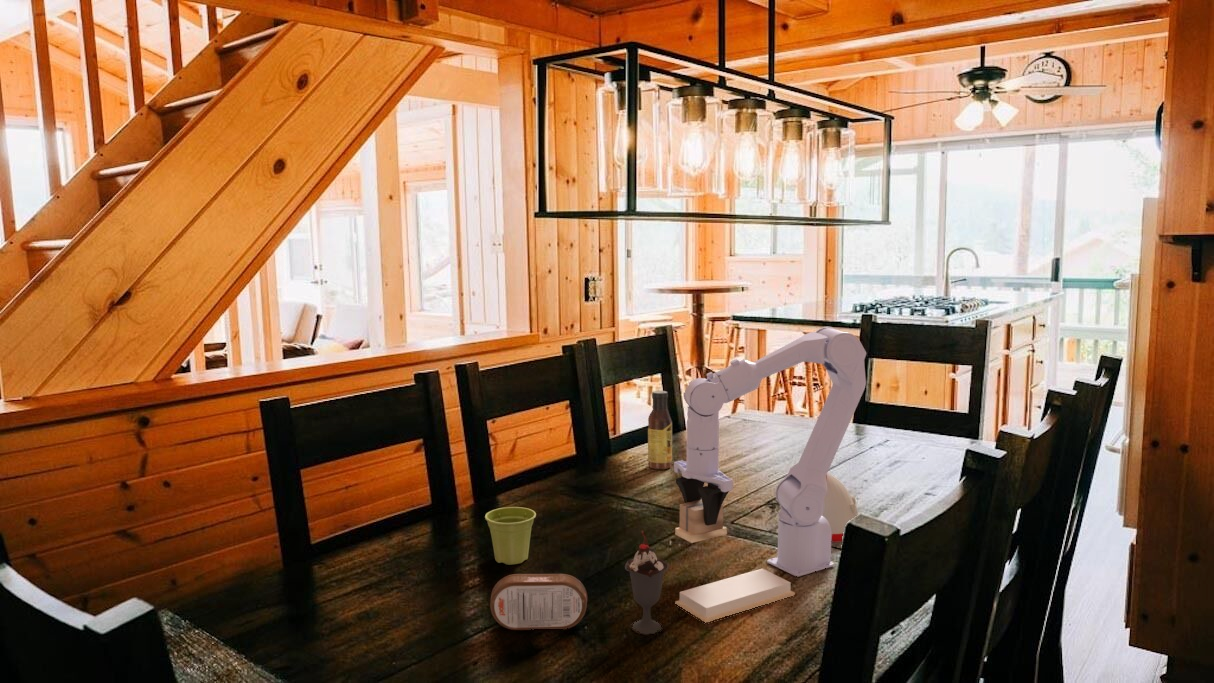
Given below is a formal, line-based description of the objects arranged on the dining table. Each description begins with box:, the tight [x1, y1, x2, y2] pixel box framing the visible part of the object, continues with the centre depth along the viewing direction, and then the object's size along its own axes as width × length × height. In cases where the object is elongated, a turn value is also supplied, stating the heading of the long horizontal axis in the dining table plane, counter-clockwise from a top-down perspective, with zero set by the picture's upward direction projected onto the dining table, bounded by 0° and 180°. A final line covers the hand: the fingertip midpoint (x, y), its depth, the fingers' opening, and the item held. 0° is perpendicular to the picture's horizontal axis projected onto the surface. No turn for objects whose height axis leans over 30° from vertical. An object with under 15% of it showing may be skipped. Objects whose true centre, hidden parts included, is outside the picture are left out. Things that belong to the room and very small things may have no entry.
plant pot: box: [484, 506, 537, 566], centre depth 156 cm, size 9×9×9 cm
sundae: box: [624, 530, 670, 634], centre depth 128 cm, size 7×7×15 cm
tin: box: [489, 573, 588, 631], centre depth 129 cm, size 15×3×8 cm, turn 92°
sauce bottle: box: [647, 390, 673, 470], centre depth 215 cm, size 6×6×20 cm
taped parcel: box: [674, 499, 728, 544], centre depth 149 cm, size 8×5×6 cm, turn 122°
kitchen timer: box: [822, 472, 859, 543], centre depth 170 cm, size 14×14×15 cm
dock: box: [674, 568, 796, 624], centre depth 138 cm, size 8×19×2 cm, turn 122°
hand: (701, 520), depth 150 cm, fingers closed on taped parcel, 4 cm apart
